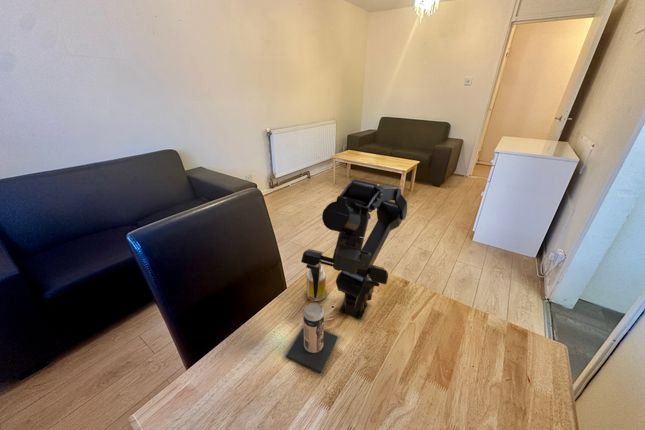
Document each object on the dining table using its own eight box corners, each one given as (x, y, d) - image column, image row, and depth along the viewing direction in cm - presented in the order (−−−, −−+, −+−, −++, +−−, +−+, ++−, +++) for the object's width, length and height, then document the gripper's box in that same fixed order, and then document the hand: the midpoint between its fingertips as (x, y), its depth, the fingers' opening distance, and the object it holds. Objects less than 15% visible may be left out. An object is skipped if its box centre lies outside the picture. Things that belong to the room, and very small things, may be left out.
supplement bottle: (328, 298, 78) (329, 271, 73) (311, 304, 76) (311, 276, 71) (320, 286, 83) (320, 260, 78) (304, 291, 80) (303, 265, 76)
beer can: (323, 354, 61) (324, 317, 56) (303, 354, 61) (302, 317, 56) (323, 336, 66) (324, 301, 60) (304, 336, 66) (303, 301, 60)
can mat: (306, 325, 69) (306, 323, 69) (337, 337, 66) (337, 336, 66) (286, 356, 61) (286, 355, 61) (320, 373, 58) (321, 371, 58)
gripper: (307, 224, 51) (287, 302, 50) (401, 247, 50) (382, 328, 49) (313, 225, 62) (297, 289, 62) (390, 244, 61) (374, 310, 60)
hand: (335, 303), depth 58 cm, fingers open, 9 cm apart
